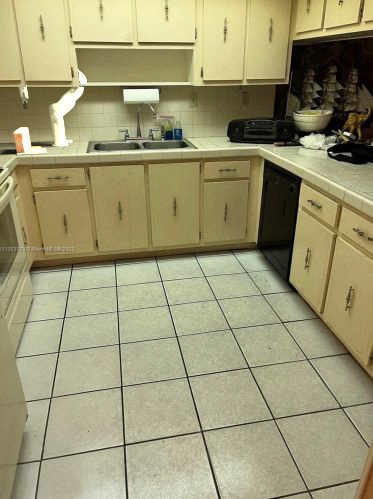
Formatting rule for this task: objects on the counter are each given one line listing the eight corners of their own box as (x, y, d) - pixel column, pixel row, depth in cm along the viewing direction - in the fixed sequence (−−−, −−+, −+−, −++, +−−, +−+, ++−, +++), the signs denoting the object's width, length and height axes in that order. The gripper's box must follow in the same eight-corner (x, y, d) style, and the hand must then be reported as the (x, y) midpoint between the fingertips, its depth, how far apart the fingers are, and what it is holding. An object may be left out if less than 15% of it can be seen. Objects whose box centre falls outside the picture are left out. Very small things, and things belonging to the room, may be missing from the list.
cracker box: (31, 146, 282) (25, 153, 264) (23, 146, 281) (16, 153, 263) (28, 127, 275) (21, 132, 257) (20, 127, 274) (12, 132, 256)
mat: (45, 148, 284) (45, 146, 284) (47, 153, 263) (46, 151, 263) (17, 149, 277) (17, 147, 277) (16, 155, 257) (16, 153, 256)
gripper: (27, 82, 264) (31, 109, 272) (26, 82, 276) (31, 108, 284) (15, 82, 261) (20, 109, 269) (15, 82, 274) (20, 108, 282)
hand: (26, 108), depth 277 cm, fingers closed
